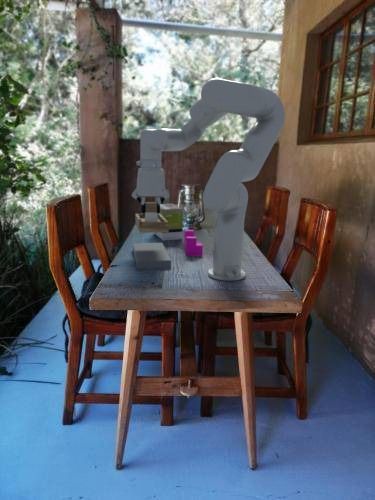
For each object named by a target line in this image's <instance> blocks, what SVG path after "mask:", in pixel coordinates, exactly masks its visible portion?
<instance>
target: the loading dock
mask: <svg viewBox="0 0 375 500" xmlns="http://www.w3.org/2000/svg"><path fill="white" fill-rule="evenodd" d="M132 252H133V256H134V261H135V266H136V270H148V269H149V270H151V269H154V268H159V269H172V260H171V257H170V256H169V254H168V251H167V250H166V247H165V245H164V244H163V242H133V243H132Z"/></svg>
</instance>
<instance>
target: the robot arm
mask: <svg viewBox="0 0 375 500" xmlns="http://www.w3.org/2000/svg"><path fill="white" fill-rule="evenodd" d="M285 111H286V110H285V106H284V103H283V101H282V100H281V98H280V97H279V95H278V94H276V93H275V92H274V91H273V90H271V89H268V88H266V87H263V86H258V85H255V84H250V83H245V82H240V81H234V80H228V79H223V78H220V77H214V78H210V79H209V80H207V81H206V82H205V83H204V84H203V86H202V88H201V91H200V99H198V100H197V101H196V102H195V103H193V104H192V105H191V106H190V108H189V116H190V120H188V121H187V123H185V124H184V125H182V126H181V127H179V128H157V129H156V128H144V129H142V130H141V131H140V134H139V135H140V143H139V144H140V145H139V146H140V147H139V148H140V149H139V151H140V153H139V154H140V159H139V160H138V161H136V162H135V163H136V166H139V167H140V168H139V167H138V170H137V178H136V188H135V189H134V190H133V192H132V194H131V197H132V198H133V199H135V200H136V201H137V202H138V203H140V205H141V206H140V207H141V211H140V214H143V215H144V216H145V212H146V205H145V202H146V198H155V197H156V200H157V202H156V203H157V214H158V213H160V205H161V203H162V202H163V201H164V200H165V199H167V198H169V199H170V196H171V195H170V193H169V194H168V192H167V190H166V189H167V188H166V181H165V180H166V177H165V170H164V168H162V152H181V151H183V150H187V149H188V148H189V147H190V146H192V145H194V144H195V143H196V142H198V141H199V140H200V139H201V138H202V136H203V135H204V134H205V132H206V130H207V129H208V128H209V127H210V126H212V125H213V124H215V123H217V122H218V121H219V120H220V119H221V118H223V117H225V116H226V115H228V113H229V114H232V115H236V116H241V117H245V118H246V117H247V118H252V119H255V123H254V124H253V125H252V127H251V128H250V129H249V131H248V132H247V133H246V136H245V138H244V139H243V142H242V144H241V145H240V147H239V149H231V150H229V151H227V152H225V153H224V154H222V156H221V157H220V158H219V159H218V161H217V162H216V164H215V167H214V168H213V170H212V173H211V175H210V176H209V179H208V181H207V183H206V185H205V187H204V191H203V193H202V203H203V206H204V208H205V210H206V211H207V212H209V213H210V214H213V215H214V214H215V215H216V216H215V219H214V220H215V221H214V230H213V232H214V233H213V234H214V235H213V236H214V237H213V254H212V256H213V257H212V267H211V268H209V269H208V270H207V275H208V276H209V277H210V278H212V279H215V280H219V281H226V282H227V281H228V282H233V281H240V280H243V279H244V278H245V277H246V272H245V271H244V270H243V269H242V259H243V257H242V256H243V242H244V229H245V219H246V218H245V217H246V213H247V212H246V211H247V207H248V202H249V193H248V190H247V187H246V186H245V185H244V184H243V183H246V182H249V181H253V180H254V179H256V177H257V176H258V175H259V174H260V171H261V169H262V168H263V166H264V164H265V162H266V160H267V158H268V157H269V155H270V152H271V151H272V149H273V147H274V145H275V143H276V141H277V139H278V138H279V136H280V134H281V132H282V130H283V127H284V124H285V119H286V112H285ZM164 195H165V196H164ZM162 196H163V197H162ZM160 197H162V198H161V199H160Z"/></svg>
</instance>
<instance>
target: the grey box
mask: <svg viewBox="0 0 375 500" xmlns="http://www.w3.org/2000/svg"><path fill="white" fill-rule="evenodd" d="M145 222H158V214H157V213H156V212H145Z"/></svg>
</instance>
